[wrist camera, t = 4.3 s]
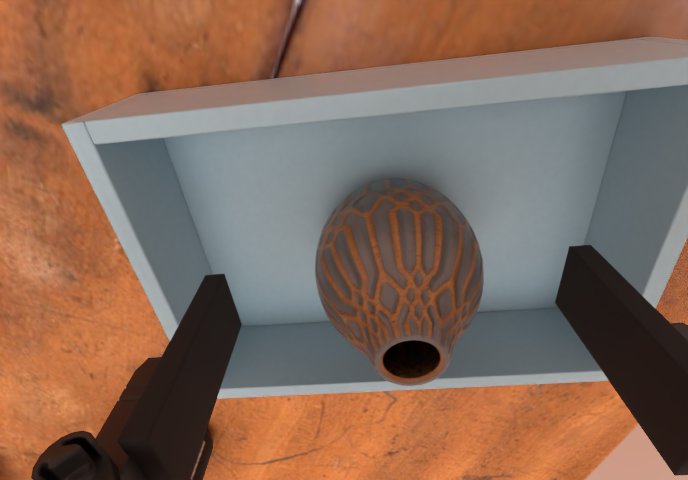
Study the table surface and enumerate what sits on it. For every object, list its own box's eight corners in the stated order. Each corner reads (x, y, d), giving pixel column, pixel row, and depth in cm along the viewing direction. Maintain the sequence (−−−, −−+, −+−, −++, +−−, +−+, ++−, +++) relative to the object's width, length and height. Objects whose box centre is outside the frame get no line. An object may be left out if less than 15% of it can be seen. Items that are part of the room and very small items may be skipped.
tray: (653, 35, 15) (773, 47, 11) (573, 310, 22) (624, 380, 18) (135, 93, 16) (59, 124, 12) (225, 330, 24) (198, 400, 20)
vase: (432, 133, 17) (497, 237, 9) (474, 251, 20) (546, 398, 12) (296, 193, 18) (258, 322, 11) (355, 292, 22) (356, 444, 14)
